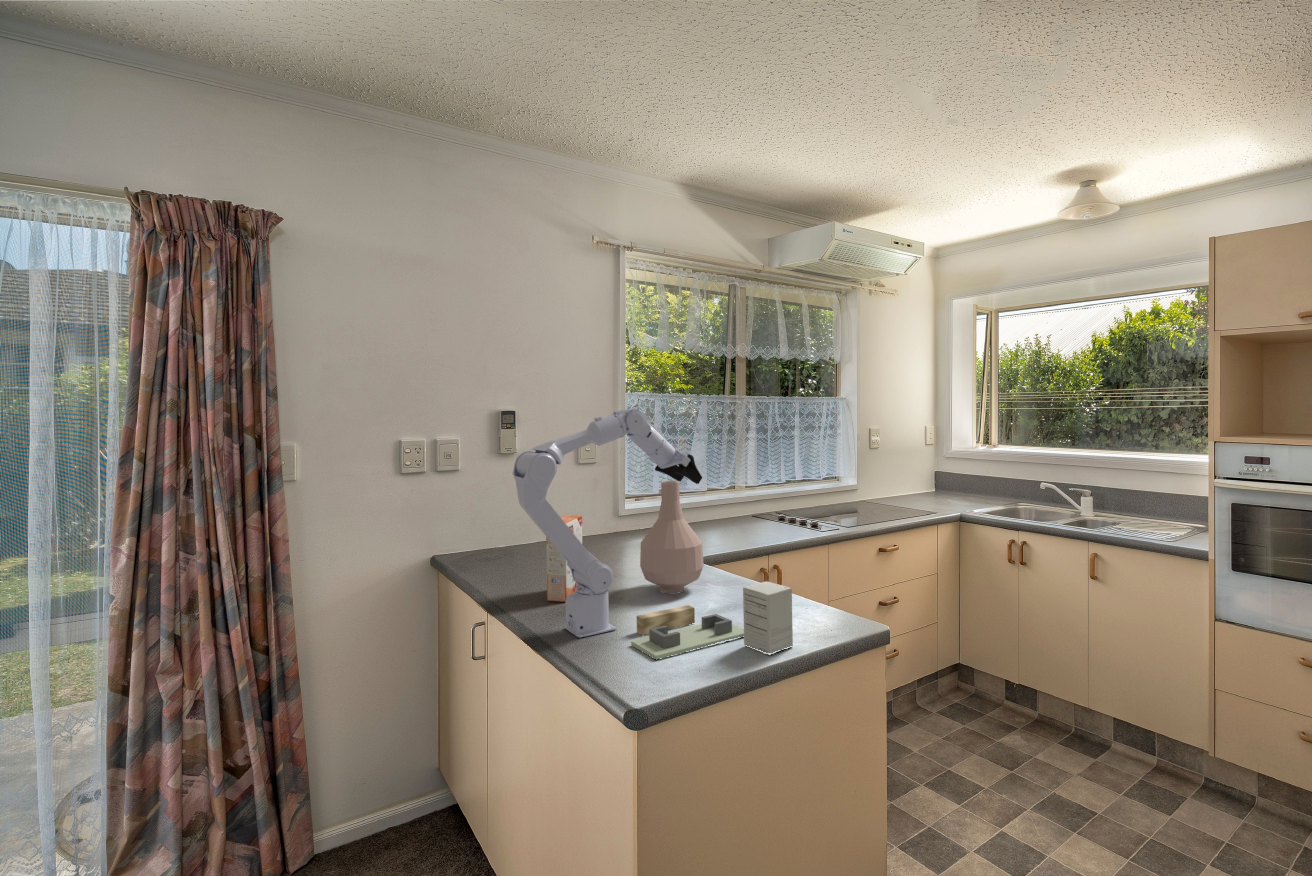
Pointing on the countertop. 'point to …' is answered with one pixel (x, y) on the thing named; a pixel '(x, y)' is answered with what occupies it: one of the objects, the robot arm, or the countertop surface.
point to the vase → (671, 546)
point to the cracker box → (561, 565)
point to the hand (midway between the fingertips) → (690, 479)
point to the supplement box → (767, 616)
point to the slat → (666, 619)
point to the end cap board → (687, 637)
